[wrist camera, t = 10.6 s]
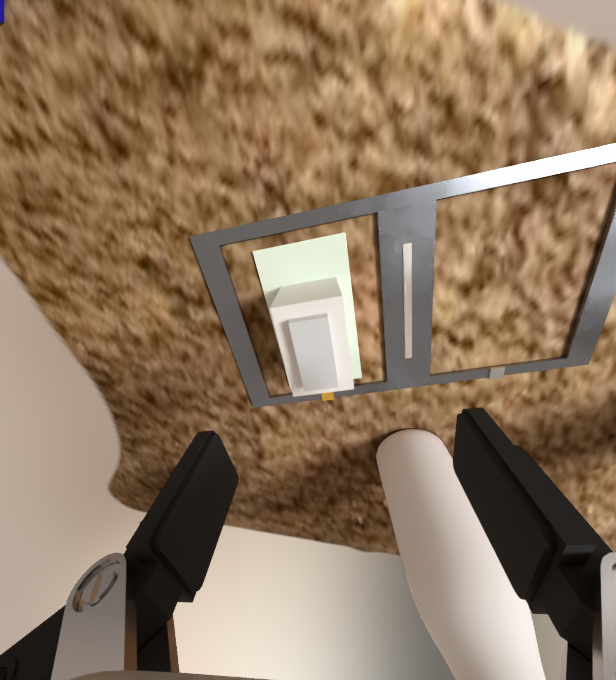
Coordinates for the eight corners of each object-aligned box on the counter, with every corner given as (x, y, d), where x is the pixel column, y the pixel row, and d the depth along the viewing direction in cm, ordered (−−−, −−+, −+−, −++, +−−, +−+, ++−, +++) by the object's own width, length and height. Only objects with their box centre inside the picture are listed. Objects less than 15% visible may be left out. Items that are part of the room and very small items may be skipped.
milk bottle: (365, 438, 27) (457, 847, 10) (434, 417, 26) (703, 868, 8) (386, 478, 30) (485, 846, 12) (448, 462, 29) (666, 861, 11)
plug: (335, 276, 19) (343, 299, 14) (345, 351, 22) (355, 395, 17) (279, 286, 20) (265, 312, 14) (296, 359, 23) (290, 403, 17)
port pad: (345, 232, 18) (345, 232, 18) (361, 376, 24) (361, 377, 23) (253, 251, 19) (252, 251, 19) (290, 386, 24) (290, 387, 24)
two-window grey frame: (670, 131, 15) (681, 128, 14) (585, 363, 22) (590, 366, 22) (191, 236, 18) (188, 237, 18) (254, 406, 26) (253, 409, 25)
